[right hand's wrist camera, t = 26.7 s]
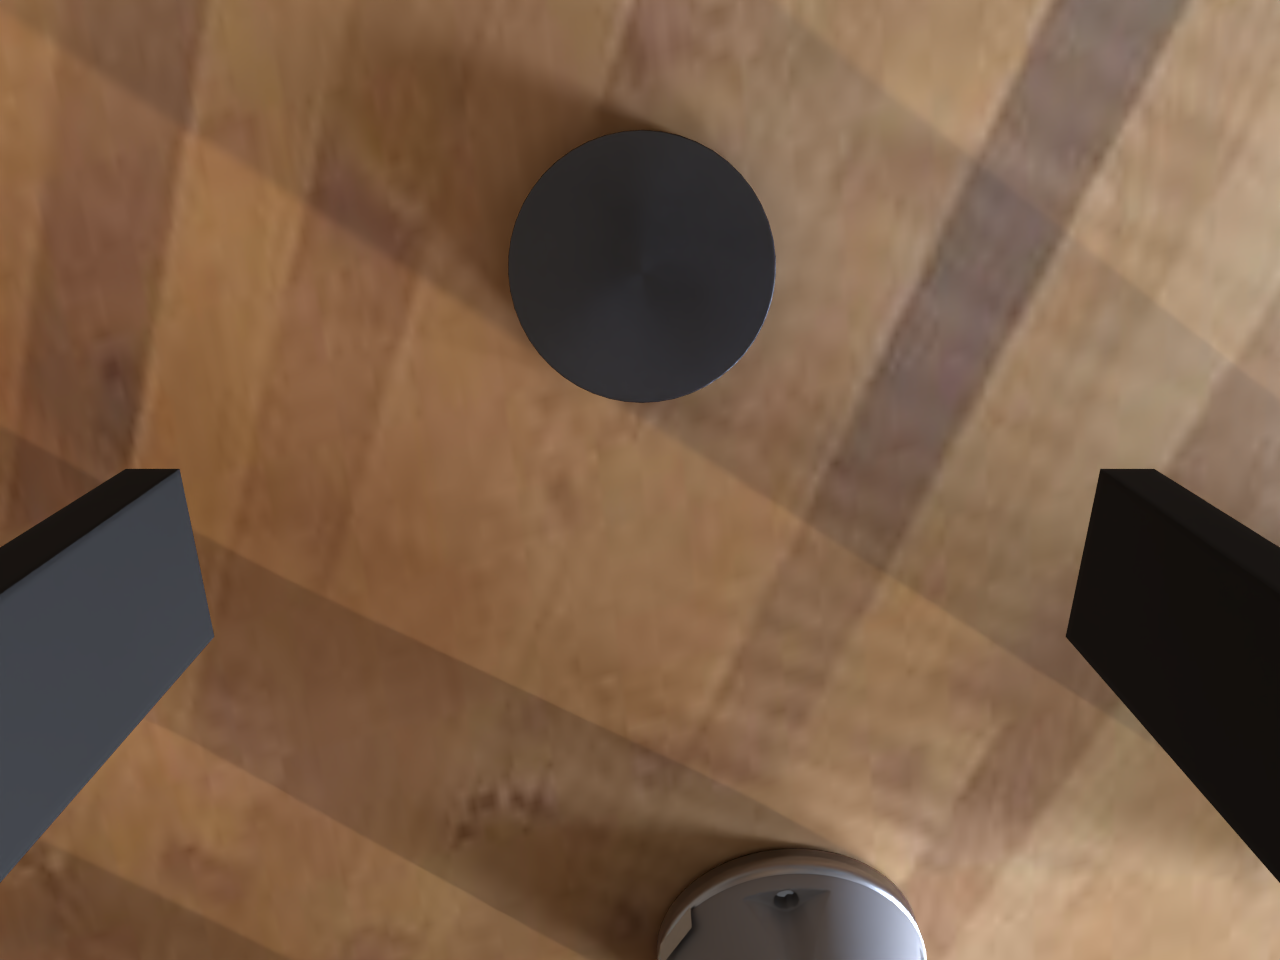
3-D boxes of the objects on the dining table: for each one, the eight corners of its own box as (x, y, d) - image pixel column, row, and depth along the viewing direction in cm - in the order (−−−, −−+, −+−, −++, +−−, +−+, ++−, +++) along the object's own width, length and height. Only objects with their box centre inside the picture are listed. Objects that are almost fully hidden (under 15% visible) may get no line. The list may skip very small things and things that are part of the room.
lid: (821, 267, 36) (831, 274, 34) (641, 436, 39) (641, 452, 37) (642, 68, 33) (642, 64, 31) (462, 266, 36) (452, 273, 34)
